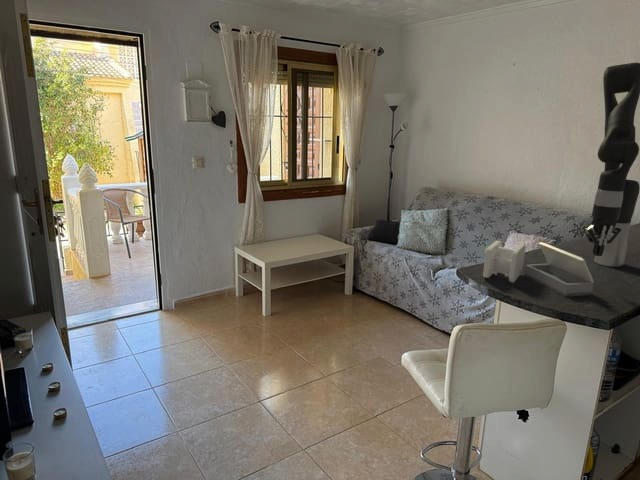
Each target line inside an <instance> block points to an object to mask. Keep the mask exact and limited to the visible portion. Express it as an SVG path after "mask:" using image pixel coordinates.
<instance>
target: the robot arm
mask: <svg viewBox="0 0 640 480" xmlns="http://www.w3.org/2000/svg"><path fill="white" fill-rule="evenodd" d="M602 77H603V78H602V80H603V84H602V85H603V95H604V96H603V98H604V117H605V118H604V138H603V140H602V142H601V144H600V145H599V148H598V151H597V158H598V160H599V161H600V162H601V163H604V171H602V172H601V173H600V175H599V179H598V180H599V181H598V186H597V190H596V193H595V196H594V201H593V207H592V212H591V217H592V221H591V222H590V225H589V226H588V227H584V228H583V232H584V233H585V236H586V238H587V239H588V242H589V243H592V244H593V248H592V255H593V256H594V260H593V262H594V263H596V264H598V265H602V266H605V267H612V268H613V267H614V268H615V267H616V268H618V267H622V266H624V265H625V261H626V260H625V259H626V254H627V252H628V251H627V250H628V246H629V241H628V236H629V232H630V226H631V222H632V218H633V216H634V213H635V209H636V205H637V201H638V198H639V195H640V184H639V183H640V182H639V181H637V180H634V179H628V178H627V177H628V174H629V172H630V170H631V169H632V168H631V167H633V164H634V162H635V161H636V159H637V157H638V155H639V153H640V147H639V144H638V143H637V142H636V127H635V125H634V124H635V116H636V115H635V114H636V110H637V106H638V103H639V99H640V62H629V63H623V64H617V65H611V66H607V67H606V68H605V70H604V72H603V76H602ZM623 93H627V94H626V95H625V96H624V98H622V100H621V101H620V102H618V101H617V97H616V94H623Z"/></svg>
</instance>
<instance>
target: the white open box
mask: <svg viewBox="0 0 640 480" xmlns="http://www.w3.org/2000/svg"><path fill="white" fill-rule="evenodd" d="M523 276H525V277H527V278H528V279H530V280H531V281H534V282H535V283H538V284H539V283H540V284H539V285H541V284H542V286H543V285H544V286H543V287H545V286H546V287H545V288H547V287H548V288H547V289H549V288H550V290H551V291H553V292H555V293H557V294H559V295H561V296H562V295H563V297H564V296H565V298H566V297H576V296H577V297H579V296H590V295H591V296H592V292H593V287H594V282H593V283H591V282H589V281H586V280H584V279H582V278H580V277H577V276H575V275H573V274H571V273H568V272H566V271H564V270H562V269H560V268H557V267H555V266H553V265H551V264H548V263H536V264H535V263H534V264H532V263H531V264H525V265H524V274H523Z"/></svg>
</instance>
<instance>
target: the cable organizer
mask: <svg viewBox="0 0 640 480" xmlns="http://www.w3.org/2000/svg"><path fill="white" fill-rule="evenodd" d="M502 246H503V243H502V241H501V240H495V241H493V243H491V244H490V245H488V246H487V247H486V248H485V250H484V255H485V257H484V263H483V265H484V266H483V272H482V276H483V277H484V278H486V279H489V278H490V277H491V276H493V274H494V275H495V276H497V274H502V275H504V277H507V278H508V281H509V283H511V284H514V283H515V282H516V281H517V279H518V278H519V277H520V276H521V274H522V272H523V266H524V261H525V254H526V253H525V252H526V244H523V243H521V244H519V245H517V247H516V248H509V247H508V248H507V247H502Z"/></svg>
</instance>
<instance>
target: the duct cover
mask: <svg viewBox="0 0 640 480" xmlns="http://www.w3.org/2000/svg"><path fill="white" fill-rule="evenodd" d="M538 245H539V247H540V249H541V251H542V253H543V256H544V258H545V259H546V262H547V264H551V265H553V266H555V267H557V268H560V269H562V270H564V271H566V272H568V273H571V274H573V275H575V276H577V277H580V278H582V279H584V280H586V281H589V282H591V283H593V284H594V282H595V281H594V278H593V276H592V274H591V272H590V269H589V267H588V264H587V262H586V260H585V258H583V257H582V256H578V255H576V254H574V253H571V252H569V251H566V250H563V249H561V248H558V247H555V246H553V245H550V244H549V243H548V244H547V243H546V242H541V241H540V242H538Z"/></svg>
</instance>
